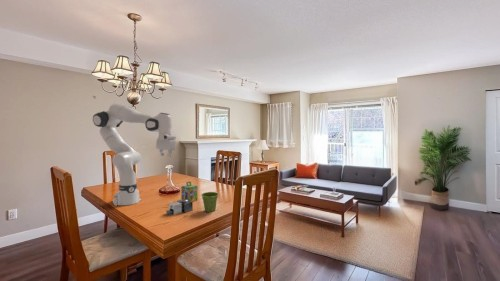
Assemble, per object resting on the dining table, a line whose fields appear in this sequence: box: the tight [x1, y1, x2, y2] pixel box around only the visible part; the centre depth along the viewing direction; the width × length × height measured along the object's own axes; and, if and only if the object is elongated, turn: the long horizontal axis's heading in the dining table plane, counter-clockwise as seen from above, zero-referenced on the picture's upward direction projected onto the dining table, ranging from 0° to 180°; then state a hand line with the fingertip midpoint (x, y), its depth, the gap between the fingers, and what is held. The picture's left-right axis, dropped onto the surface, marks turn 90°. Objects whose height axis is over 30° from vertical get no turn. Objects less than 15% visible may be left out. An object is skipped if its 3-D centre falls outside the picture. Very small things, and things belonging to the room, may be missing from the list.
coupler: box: [165, 199, 194, 216], centre depth 158 cm, size 10×16×7 cm, turn 139°
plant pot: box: [200, 191, 220, 213], centre depth 160 cm, size 12×12×11 cm
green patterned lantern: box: [180, 180, 198, 202], centre depth 183 cm, size 9×9×15 cm
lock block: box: [168, 201, 183, 216], centre depth 156 cm, size 6×6×6 cm
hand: (165, 156), depth 162 cm, fingers open, 8 cm apart
